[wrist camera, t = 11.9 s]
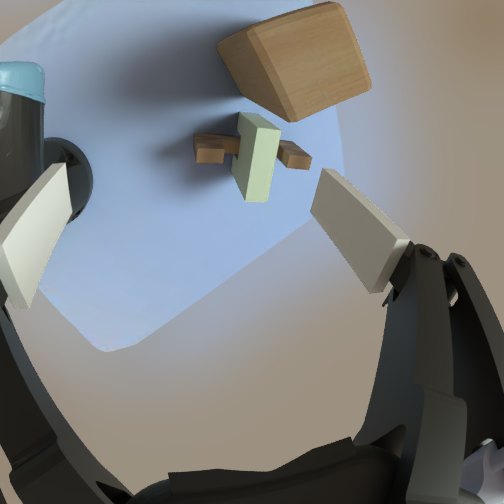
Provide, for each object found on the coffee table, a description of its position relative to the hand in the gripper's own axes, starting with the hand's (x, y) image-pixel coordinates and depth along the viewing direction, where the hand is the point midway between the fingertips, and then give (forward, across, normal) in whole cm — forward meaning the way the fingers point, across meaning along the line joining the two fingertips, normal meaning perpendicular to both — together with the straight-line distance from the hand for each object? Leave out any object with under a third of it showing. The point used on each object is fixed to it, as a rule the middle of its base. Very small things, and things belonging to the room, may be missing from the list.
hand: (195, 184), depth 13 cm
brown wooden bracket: (+31, +10, -6) cm, 33 cm away
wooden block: (+31, +10, +8) cm, 33 cm away
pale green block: (+31, +10, -6) cm, 33 cm away
